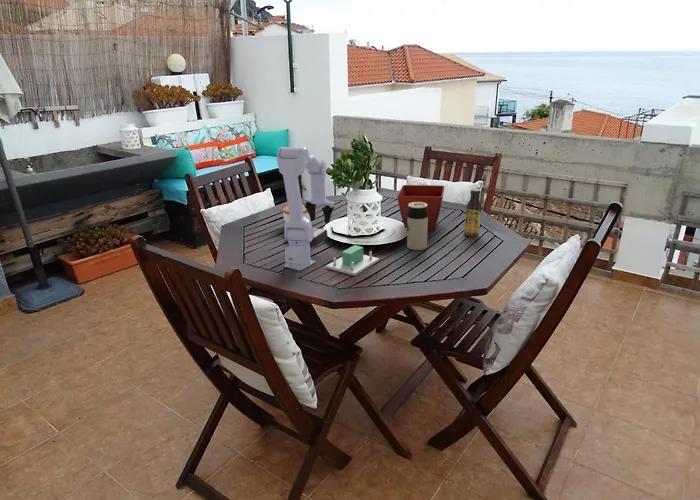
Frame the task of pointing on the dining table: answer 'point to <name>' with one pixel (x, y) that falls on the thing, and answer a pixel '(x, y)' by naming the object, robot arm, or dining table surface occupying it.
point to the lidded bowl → (287, 214)
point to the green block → (352, 255)
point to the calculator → (318, 236)
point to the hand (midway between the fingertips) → (320, 221)
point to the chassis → (353, 268)
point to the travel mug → (417, 226)
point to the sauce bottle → (473, 214)
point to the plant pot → (421, 194)
